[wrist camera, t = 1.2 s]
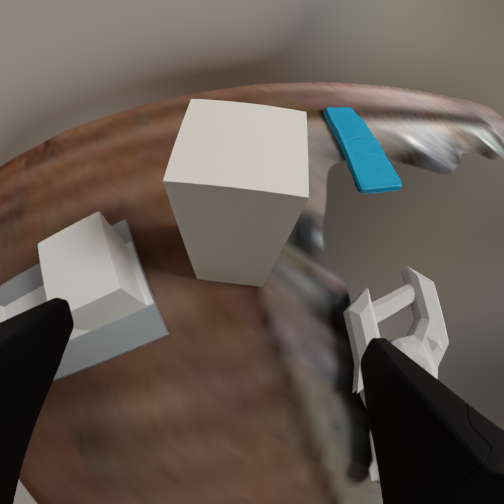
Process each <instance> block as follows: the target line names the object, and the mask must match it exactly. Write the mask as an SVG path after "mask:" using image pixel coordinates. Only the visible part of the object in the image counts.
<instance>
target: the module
mask: <svg viewBox="0 0 504 504" xmlns="http://www.w3.org/2000/svg"><path fill="white" fill-rule="evenodd" d="M163 183H164V186H165V189H166V192H167V195H168V198H169V201H170V204H171V207H172V210H173V213H174V216H175V219H176V222H177V225H178V228H179V231H180V233H181V236H182V239H183V242H184V245H185V247H186V250H187V253H188V256H189V258H190V261H191V264H192V266H193V269H194V272H195V274H196V277H197V279H200V280H207V281H216V282H224V283H232V284H241V285H250V286H259V287H263V285H264V283H265V281H266V280H267V278H268V276H269V274H270V272H271V270H272V268H273V266H274V264H275V262H276V260H277V259H278V257H279V255H280V253H281V251H282V249H283V247H284V245H285V243H286V241H287V239H288V237H289V235H290V233H291V231H292V229H293V227H294V226H295V224H296V222H297V220H298V218H299V216H300V214H301V212H302V210H303V208H304V206H305V204H306V202H307V200H308V198H309V187H308V143H307V119H306V112H303V111H298V110H292V109H286V108H279V107H273V106H266V105H258V104H250V103H240V102H230V101H217V100H201V99H191V101H190V104H189V106H188V109H187V112H186V114H185V117H184V120H183V122H182V125H181V128H180V131H179V133H178V136H177V139H176V142H175V145H174V148H173V151H172V154H171V157H170V160H169V163H168V166H167V170H166V173H165V176H164V179H163Z"/></svg>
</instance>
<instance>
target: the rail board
mask: <svg viewBox="0 0 504 504" xmlns="http://www.w3.org/2000/svg"><path fill="white" fill-rule="evenodd" d="M38 251H39V258H40V263H38V264H36V265H35V266H33V267H31V268H29V269H28V270H26V271H24V272H23V273H21V274H19V275H18V276H16V277H14V278H13V279H11V280H9V281H8V282H6V283H4V284H3V285H1V286H0V322H2V321H5V320H7V319H9V318H11V317H13V316H15V315H18V314H20V313H22V312H24V311H26V310H29V309H31V308H33V307H35V306H37V305H40V304H42V303H44V302H46V301H49V300H51V299H53V298H61V299H65V300H67V301H68V303H69V306H70V310H71V314H72V317H73V321H74V327H73V330H72V333H71V335H70V338H69V341H68V343H67V346H66V349H65V352H64V354H63V357H62V360H61V363H60V365H59V368H58V370H57V373H56V375H55V377H54V380H53V381H55V380H58V379H61V378H64V377H66V376H69V375H72V374H74V373H77V372H80V371H82V370H85V369H88V368H90V367H93V366H95V365H98V364H100V363H103V362H105V361H108V360H111V359H113V358H116V357H118V356H120V355H123V354H125V353H128V352H130V351H133V350H135V349H138V348H140V347H142V346H145V345H147V344H150V343H152V342H154V341H157V340H159V339H161V338H164V337H166V336H168V335H169V332H168V330H167V328H166V325H165V323H164V321H163V318H162V316H161V314H160V311H159V309H158V306H157V304H156V301H155V299H154V296H153V294H152V291H151V289H150V286H149V283H148V281H147V278H146V275H145V273H144V270H143V267H142V264H141V261H140V259H139V256H138V253H137V250H136V247H135V244H134V241H133V238H132V235H131V232H130V228H129V225H128V223H127V221H126V220H122V221H120V222H118V223H116V224H114V225H112V226H110V224H109V223H108V222H107V221H106V219H105V218H104V217H103V215H102V214H101V213H100V212H99V211H98V212H96V213H94V214H92V215H90V216H88V217H86V218H84V219H82V220H80V221H78V222H76V223H75V224H73V225H71V226H69V227H67V228H65V229H63V230H61V231H60V232H58V233H56V234H54V235H52V236H51V237H49V238H47V239H45V240H43V241H42V242H40V243H38Z"/></svg>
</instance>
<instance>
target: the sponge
mask: <svg viewBox="0 0 504 504" xmlns="http://www.w3.org/2000/svg"><path fill="white" fill-rule="evenodd" d="M323 114H324V116H325V119H326V121H327V123H328V125H329V127H330V128H331V130H332V133H333V134H334V136H335V138H336V140H337V142H338V144H339V146H341V147H340V148H341V150H342V152H343V154H344V157H345V159H346V163H347V165H348V168H349V170H350V172H351V173H352V177H353V179H354V182H355V186H356V188H357V190H358V192H360V193H362V194H364V193H368V194H370V193H371V194H373V193H381V192H388V191H396V190H400V189H401V188H402V185H401V180H400V178H399V176H398V175H397V173H396V172H395V171H394V169H393V167H392V165H391V164H390V162H389V161H388V159H387V157H385V153H384V151H383V150H382V148H381V146H380V145H379V143H378V141H377V140H376V138H375V137H374V136H373V134H372V133H371V131H370V130H369V129H368V127H367V125H366V123H365V122H364V121H363V120H362V119H361V118H360V117H359V116H357V114H356V113H355V112H354V111H353V110H352V108H351V107H341V108H336V107H333V108H332V107H327V108H326V109H325V111H324V112H323Z"/></svg>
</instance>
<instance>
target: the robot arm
mask: <svg viewBox="0 0 504 504" xmlns="http://www.w3.org/2000/svg"><path fill="white" fill-rule="evenodd" d="M73 327H74V321H73V317H72V314H71V310H70V306H69V303H68V301H67V300H65V299H61V298H53V299H51V300H49V301H46V302H44V303H42V304H40V305H37V306H35V307H33V308H31V309H29V310H26V311H24V312H22V313H20V314H18V315H15V316H13V317H11V318H9V319H7V320H5V321H2V322H0V504H13V501H14V496H15V492H16V487H17V483H18V479H19V475H20V471H21V467H22V464H23V460H24V457H25V454H26V450H27V447H28V444H29V441H30V438H31V435H32V432H33V429H34V427H35V424H36V421H37V418H38V416H39V413H40V411H41V408H42V406H43V403H44V401H45V398H46V396H47V393H48V391H49V389H50V386H51V384H52V382H53V380H54V377H55V375H56V373H57V370H58V368H59V365H60V363H61V360H62V357H63V354H64V352H65V349H66V346H67V343H68V341H69V338H70V335H71V333H72V330H73ZM361 371H362V379H363V387H364V396H365V404H366V410H367V415H368V420H369V424H370V429H371V434H372V439H373V444H374V449H375V455H376V460H377V466H378V472H379V478H380V484H381V491H382V498H383V504H504V430H503V429H501V428H500V427H498V426H497V425H495V424H494V423H493V422H491V421H490V420H488V419H487V418H485V417H484V416H483V415H482V414H480V413H479V412H478V411H476V410H475V409H474V408H473V407H471V406H470V405H469V404H468V403H466V402H465V401H464V400H463V399H461V398H460V397H459V396H458V395H456V394H455V393H454V392H453V391H451V390H450V389H449V388H448V387H446V386H445V385H444V384H442V383H441V382H440V381H439V380H437V379H436V378H435V377H434V376H433V375H431V374H430V373H429V372H427V371H426V370H425V369H424V368H422V367H421V366H420V365H419V364H417V363H416V362H415V361H413V360H412V359H411V358H410V357H408V356H407V355H406V354H405V353H403V352H402V351H401V350H399V349H398V348H397V347H396V346H394V345H393V344H392V343H390V342H389V341H388V340H386V339H385V338H372V339H371V340H370V342H369V344H368V346H367V348H366V350H365V352H364V354H363V356H362V358H361Z"/></svg>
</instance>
